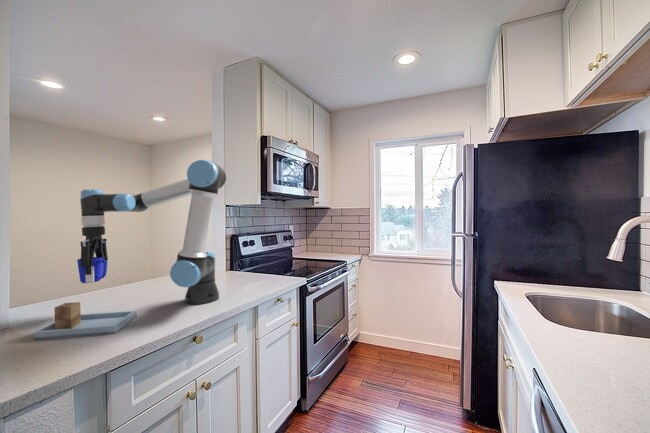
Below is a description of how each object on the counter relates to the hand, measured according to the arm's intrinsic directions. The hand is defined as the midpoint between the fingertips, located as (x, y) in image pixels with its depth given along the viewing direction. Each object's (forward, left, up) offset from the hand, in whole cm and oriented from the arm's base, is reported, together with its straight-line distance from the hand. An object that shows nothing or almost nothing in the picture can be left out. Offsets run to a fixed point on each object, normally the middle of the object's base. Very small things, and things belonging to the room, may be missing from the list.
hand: (95, 279), depth 118 cm
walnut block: (-1, +18, -13) cm, 22 cm away
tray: (-8, +18, -14) cm, 24 cm away
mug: (0, +1, -1) cm, 1 cm away
